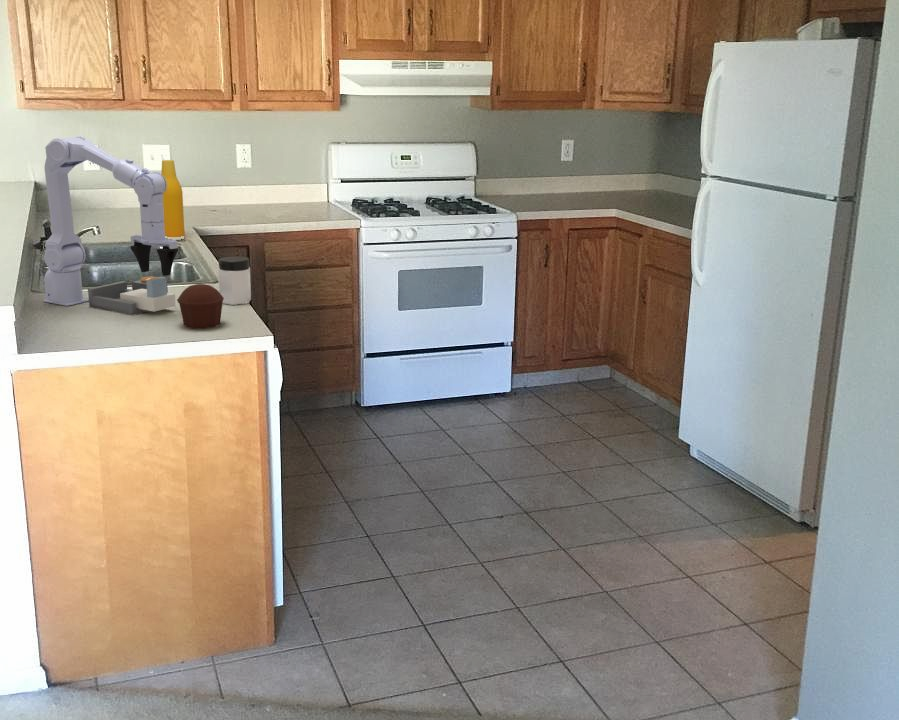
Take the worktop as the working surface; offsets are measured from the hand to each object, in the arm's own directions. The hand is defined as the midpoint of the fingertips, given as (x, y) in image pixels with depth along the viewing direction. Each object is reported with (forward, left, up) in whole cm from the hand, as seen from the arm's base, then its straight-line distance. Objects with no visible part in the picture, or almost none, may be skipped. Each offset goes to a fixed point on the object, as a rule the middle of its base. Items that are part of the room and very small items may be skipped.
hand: (155, 273), depth 252 cm
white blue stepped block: (-4, 0, -9) cm, 10 cm away
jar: (+8, +21, -11) cm, 25 cm away
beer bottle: (-80, +86, -11) cm, 118 cm away
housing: (-11, +4, -10) cm, 16 cm away
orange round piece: (-13, +10, -9) cm, 19 cm away
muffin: (+18, -3, -11) cm, 21 cm away
